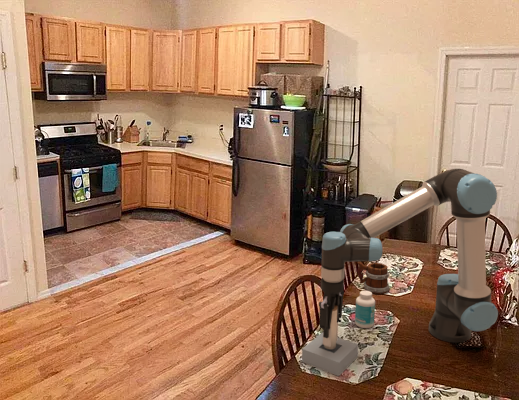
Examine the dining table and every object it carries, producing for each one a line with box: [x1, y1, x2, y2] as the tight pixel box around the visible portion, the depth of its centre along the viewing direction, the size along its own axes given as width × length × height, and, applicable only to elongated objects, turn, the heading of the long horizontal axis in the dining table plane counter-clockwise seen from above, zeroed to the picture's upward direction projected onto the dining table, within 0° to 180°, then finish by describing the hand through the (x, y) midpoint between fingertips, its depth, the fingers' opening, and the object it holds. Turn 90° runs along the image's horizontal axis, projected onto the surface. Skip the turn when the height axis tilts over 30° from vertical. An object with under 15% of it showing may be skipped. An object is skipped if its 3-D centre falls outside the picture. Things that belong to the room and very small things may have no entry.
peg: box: [324, 305, 337, 349], centre depth 161 cm, size 4×4×15 cm
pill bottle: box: [354, 290, 376, 329], centre depth 186 cm, size 8×7×14 cm
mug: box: [357, 261, 390, 295], centre depth 218 cm, size 12×14×15 cm
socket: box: [301, 331, 359, 377], centre depth 163 cm, size 14×14×5 cm
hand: (330, 342), depth 162 cm, fingers closed on peg, 4 cm apart
